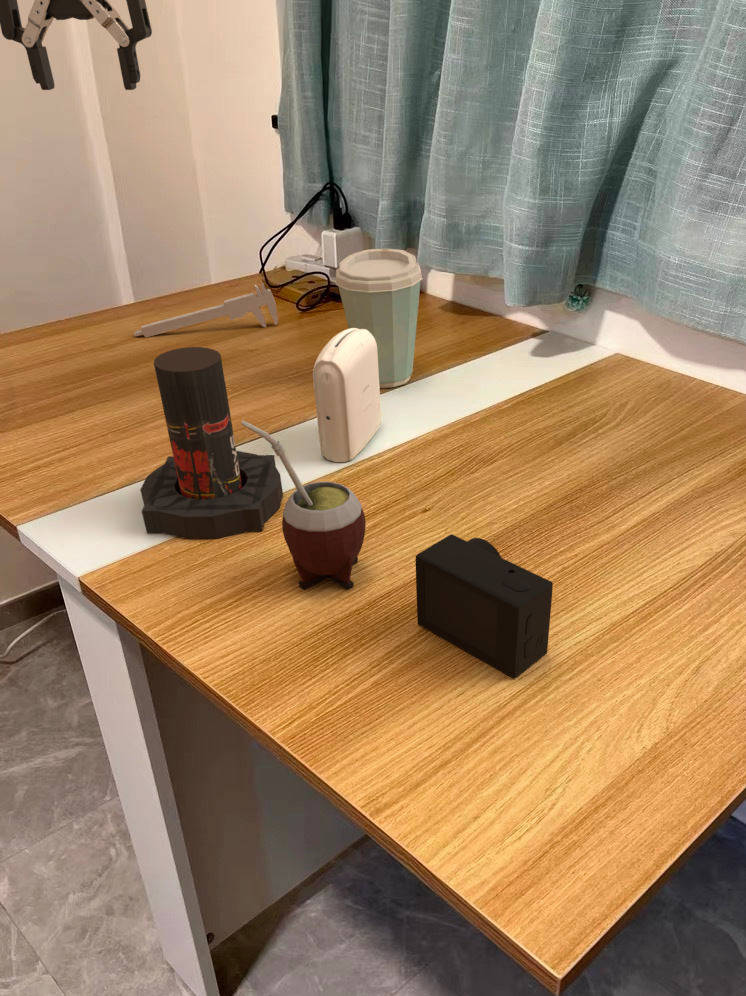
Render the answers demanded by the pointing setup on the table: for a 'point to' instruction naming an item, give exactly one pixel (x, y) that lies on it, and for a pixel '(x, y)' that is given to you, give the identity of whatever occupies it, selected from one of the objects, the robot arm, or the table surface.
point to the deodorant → (198, 422)
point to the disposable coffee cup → (383, 306)
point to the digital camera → (483, 603)
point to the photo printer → (347, 394)
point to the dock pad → (212, 502)
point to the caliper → (218, 313)
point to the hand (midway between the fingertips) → (90, 89)
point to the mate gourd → (320, 526)
